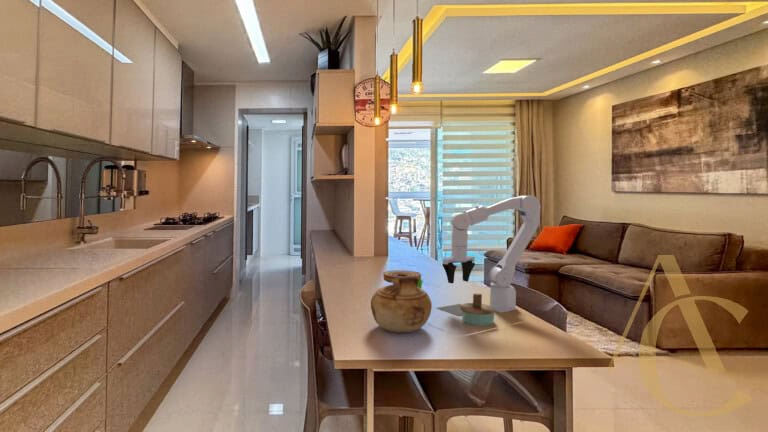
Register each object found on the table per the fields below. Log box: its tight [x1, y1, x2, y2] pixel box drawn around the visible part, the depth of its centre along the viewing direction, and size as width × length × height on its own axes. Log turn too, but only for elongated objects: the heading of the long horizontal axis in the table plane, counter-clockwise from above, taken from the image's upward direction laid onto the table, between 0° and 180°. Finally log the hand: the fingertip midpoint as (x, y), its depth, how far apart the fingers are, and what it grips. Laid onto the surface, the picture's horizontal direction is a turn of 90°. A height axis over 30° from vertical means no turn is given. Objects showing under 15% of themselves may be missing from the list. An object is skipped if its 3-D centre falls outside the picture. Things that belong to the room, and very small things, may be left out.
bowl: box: [461, 311, 495, 327], centre depth 138 cm, size 10×10×4 cm
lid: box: [460, 292, 495, 314], centre depth 139 cm, size 11×11×5 cm
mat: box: [436, 303, 463, 317], centre depth 152 cm, size 12×12×1 cm
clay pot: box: [370, 269, 433, 334], centre depth 129 cm, size 19×19×20 cm
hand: (458, 282), depth 155 cm, fingers open, 7 cm apart
